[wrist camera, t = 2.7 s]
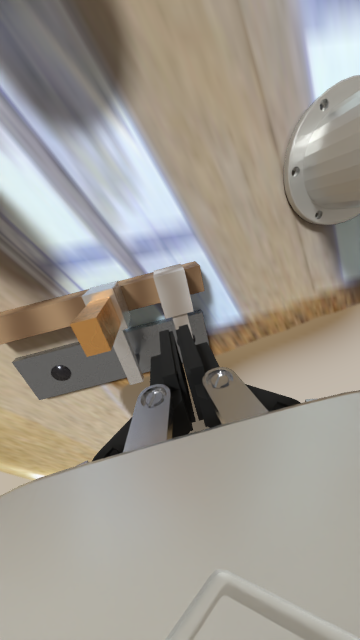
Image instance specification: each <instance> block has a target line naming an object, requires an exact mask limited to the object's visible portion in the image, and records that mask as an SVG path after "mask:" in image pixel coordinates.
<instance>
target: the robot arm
mask: <svg viewBox="0 0 360 640" xmlns="http://www.w3.org/2000/svg"><path fill="white" fill-rule="evenodd" d="M292 173H293V174H292ZM284 185H285V191H286V194H287V197H288V200H289V203H290V204H291V206H292V208H293V209H294V211H295V212H296V213H297V214H298V215H299V216H300V217H301V218H303V219H305V220H306V221H308V222H311V223H314V224H320V225H332V224H338V223H342V222H346V221H348V220H350V219H352V218H354V217H356V216H358V215H359V214H360V75H356V76H352V77H349V78H347V79H344V80H342V81H340V82H338V83H337V84H335V85H334V86H332V87H331V88H329V89H328V90H327V91H325V92H324V93H323V94H322V95H321V96H319V97H318V98H317V99H316V100H315V101H314V102H313V103H312V105H311V106H310V107H309V108H308V109H307V110H306V112H305V113H304V115H303V116H302V118H301V119H300V121H299V122H298V124H297V126H296V128H295V130H294V132H293V134H292V136H291V139H290V142H289V145H288V148H287V151H286V157H285V162H284ZM176 334H177V338H178V343H179V347H180V351H181V356H182V360H183V364H184V368H183V365H182V361H181V358H180V354H179V351H178V347H177V344H176V340H175V337H174V334H173V331H170V332H169V330H164V331H160V332H159V337H160V352H161V354H160V355H157V356H153V357H151V368H150V387H147V388H146V389H145V390H143V391H142V392H141V393H140V395H139V397H138V399H137V402H136V406H135V410H134V414H133V417H132V418H131V419H130V420H129V421H128V422H127V423H126V424H125V425H124V426H123V427H122V428H121V429H120V430H119V431H118V432H117V433H116V434H115V435H114V436H113V437H112V439H111V440H110V441H109V442H108V443H107V444H106V445H105V446H104V447H103V448H102V449H101V450H100V451H99V452H98V453H97V455H96V456H95V457H94V459H93V460H92V462H88V461H85V462H83V463H81V464H79V465H77V466H75V467H72V468H69V469H66V470H62V471H59V472H56V473H53V474H50V475H47V476H44V477H41V478H38V479H36V480H33V481H31V482H28V483H26V484H23V485H21V486H19V487H17V488H15V489H13V490H11V491H9V492H7V493H5V494H3V495H1V496H0V640H360V390H359V391H353V392H346V393H341V394H337V395H333V396H329V397H324V398H320V399H306V400H305V402H304V403H300V402H299V401H297V400H295V399H292V398H289V397H286V396H283V395H279V394H276V393H273V392H269V391H266V390H263V389H259V388H256V387H253V386H250V385H246V384H244V383H243V381H242V380H241V379H240V378H239V377H238V376H237V374H236V373H235V372H234V371H232V370H231V369H229V368H224V367H219V365H218V363H217V361H216V359H215V357H214V355H213V353H212V351H211V349H210V347H209V345H208V343H207V342H204V343H201V344H197V345H195V343H194V340H193V337H192V335H191V332H190V329H189V327H188V324H186V325H183V326H179V329H177V330H176ZM184 369H185V372H186V376H187V380H188V383H189V387H190V390H191V393H192V397H193V401H194V404H195V408H196V411H197V415H198V418H199V420H203V419H204V423H205V426H206V427H207V426H208V427H210V428H209V429H205V430H201V431H198V432H194V433H190V434H188V433H189V432H190V431H192V430H193V428H192V422H195V417H194V412H193V408H192V403H191V399H190V395H189V390H188V385H187V381H186V377H185V372H184Z"/></svg>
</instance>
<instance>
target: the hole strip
mask: <svg viewBox="0 0 360 640" xmlns="http://www.w3.org/2000/svg"><path fill="white" fill-rule="evenodd" d="M187 315H188V319H189V323H190V327H191V331H192V336H193V340H194V343H195V345H197V344H201V343H204V342H207V343H208V345H209V342H208V337H207V332H206V327H205V323H204V318H203V313H202V311H201V310H198V311H194V312H191V313H187ZM164 330H169V332H170V331H173V334H174V337H175V340H176V344H177V347H178V351H179V354H180V358H181V361H182V363H183V360H182V356H181V351H180V347H179V343H178V338H177V334H176V329H175V325H174V322H173V318H168V319H164V320H160V321H156V322H152V323H149V324H145V325H141V326H137V327H133V328H129V329H126V333H127V336H128V338H129V341H130V343H131V346H132V348H133V351H134V353H135V354H136V353H139V354H140V361H139V366H140V368H141V371H142V373H145V372H149V371H150V368H151V357H153V356H157V355H160V354H161V352H160V337H159V332H160V331H164ZM12 363H13V364H14V366H15V367H16V368H17V370H18V371H19V373H20V374H21V375H22V377H23V378H24V379H25V381H26V382H27V384H28V385H29V386H30V388H31V389H32V390H33V392H34V393H35V395H36V396H37V397H38V399H39V400H42V399H46V398H49V397H53V396H57V395H61V394H65V393H69V392H72V391H76V390H80V389H84V388H88V387H92V386H95V385H99V384H103V383H107V382H111V381H115V380H118V379H122V378H126V377H127V376H126V374H125V372H124V370H123V367H122V365H121V363H120V361H119V359H118V356H117V354H116V352H115V350H114V347H112V350H111V351H108V352H104V353H100V354H97V355H93V356H89V357H87V356H86V354H85V352H84V350H83V349H82V347H81V345H80V343H79V342H76V343H72V344H68V345H64V346H61V347H57V348H53V349H49V350H45V351H42V352H38V353H34V354H30V355H26V356H22V357H19V358H16V359H15V360H14V361H13V362H12Z"/></svg>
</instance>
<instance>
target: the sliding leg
mask: <svg viewBox="0 0 360 640" xmlns="http://www.w3.org/2000/svg"><path fill="white" fill-rule="evenodd" d="M81 297H82V299H83V301H84V303H85V305H86V307H85V308H84V309H83V310H82V311H81V312H80V313H79V314H78V316H77V317H76V318H75V319H74V320H73V321H72V322H71V324H70V326H71V328H72V329H73V331H74V333H75V335H76V337H77V339H78V341H79V343H80V345H81V347H82V349H83V350H84V352H85V354H86V356H87V357H89V356H93V355H97V354H100V353H104V352H108V351H111V350H112V347H114V350H115V352H116V354H117V356H118V359H119V361H120V363H121V365H122V367H123V370H124V372H125V374H126V376H127V379H128V381H129V383H130V385H132V384H136V383H140V382H143V378H144V376H143V373H142V371H141V368H140V366H139V361H140V354H139V353H136V354H135V353H134V351H133V348H132V346H131V343H130V341H129V338H128V336H127V333H126V330H125V329H128V327H129V323H130V320H131V315H130V313H129V310H128V307H127V305H126V302H125V299H124V296H123V294H122V291H121V288H120V286H119V283H118V281H115V282H111V283H107V284H104V285H100V286H96V287H92V288H90V289H89V290H88V291H87V292H86V293H85V294H84V295H82V296H81Z"/></svg>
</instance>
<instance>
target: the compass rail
mask: <svg viewBox="0 0 360 640" xmlns="http://www.w3.org/2000/svg"><path fill="white" fill-rule="evenodd" d="M118 283H119V286H120V288H121V291H122V294H123V296H124V299H125V302H126V305H127V307H128V310H129V311H130V310H134V309H138V308H142V307H146V306H149V305H153V304H157V303H161V305H162V308H163V312H164V315H165V319H167V318H170V317H172V318H173V322H174V325H175V329H176V330H177V329H179V326H183V325H186V324H188V327H189V329H190V332H191V335H192V331H191V327H190V323H189V319H188V315H187V313H189V312H193V311H194V310H193V306H192V301H191V297H190V295H191V294H195V293H199V292H203V291H204V286H203V281H202V275H201V270H200V265H198V264H197V263H196V262H195V261H194V262H191V263H187V264H183V265H181V264H178V265H174V266H170V267H166V268H163V269H159V270H155V271H154V272H152V273H149V274H145V275H141V276H137V277H133V278H130V279H126V280H122V281H118ZM88 290H89V289H88ZM88 290H84V291H80V292H76V293H72V294H68V295H65V296H61V297H57V298H53V299H49V300H46V301H42V302H38V303H34V304H30V305H27V306H23V307H19V308H15V309H11V310H7V311H4V312H0V344H4V343H8V342H12V341H16V340H19V339H23V338H27V337H31V336H35V335H39V334H42V333H46V332H50V331H54V330H58V329H61V328H65V327H69V326H70V324H71V322H72V321H73V320H74V319H75V318H76V317H77V316H78V314H79V313H80V312H81V311H82V310H83V309H84V308H85V307H86V305H85V303H84V301H83V299H82V297H81V296H82V295H84V294H85V293H86V292H87V291H88ZM192 337H193V336H192Z"/></svg>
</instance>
